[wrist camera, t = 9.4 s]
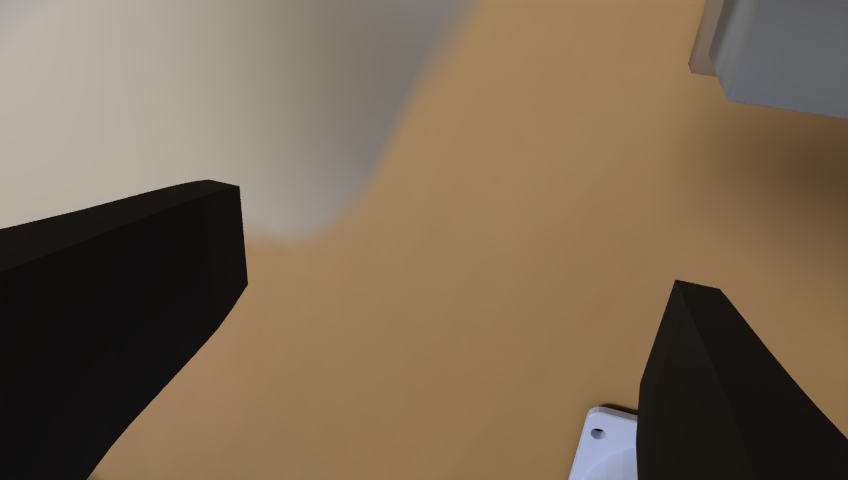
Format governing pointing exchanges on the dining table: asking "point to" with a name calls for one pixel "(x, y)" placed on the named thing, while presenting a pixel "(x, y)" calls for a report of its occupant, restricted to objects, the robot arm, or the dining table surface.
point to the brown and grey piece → (777, 53)
